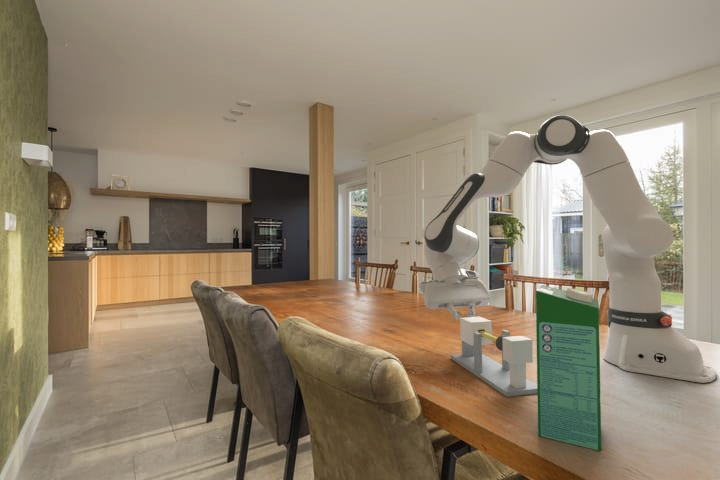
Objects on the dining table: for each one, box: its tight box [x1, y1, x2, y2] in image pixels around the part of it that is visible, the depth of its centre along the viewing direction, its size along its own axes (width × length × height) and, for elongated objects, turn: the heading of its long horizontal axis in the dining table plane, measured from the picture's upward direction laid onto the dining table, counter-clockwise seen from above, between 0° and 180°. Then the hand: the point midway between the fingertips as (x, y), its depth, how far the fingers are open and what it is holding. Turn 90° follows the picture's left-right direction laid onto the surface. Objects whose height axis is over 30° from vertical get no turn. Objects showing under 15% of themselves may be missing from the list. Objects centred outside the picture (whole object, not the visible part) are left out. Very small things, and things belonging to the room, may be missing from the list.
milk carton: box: [535, 284, 602, 452], centre depth 64 cm, size 9×9×25 cm
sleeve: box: [459, 315, 493, 346], centre depth 99 cm, size 6×6×6 cm
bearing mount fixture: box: [450, 329, 537, 398], centre depth 92 cm, size 26×9×12 cm, turn 12°
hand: (465, 317), depth 104 cm, fingers open, 3 cm apart
